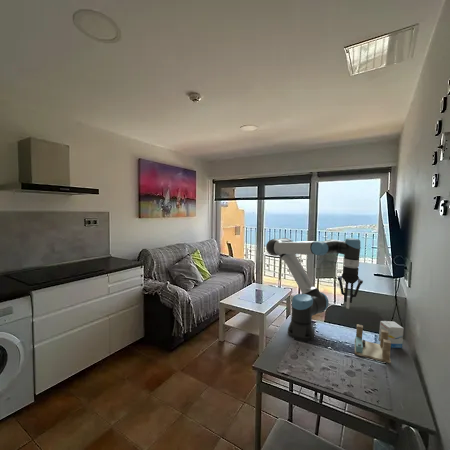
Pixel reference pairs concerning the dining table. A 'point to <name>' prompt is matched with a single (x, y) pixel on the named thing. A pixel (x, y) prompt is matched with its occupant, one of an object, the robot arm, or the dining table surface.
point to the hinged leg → (359, 344)
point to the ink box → (392, 333)
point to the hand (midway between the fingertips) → (347, 307)
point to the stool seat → (375, 346)
